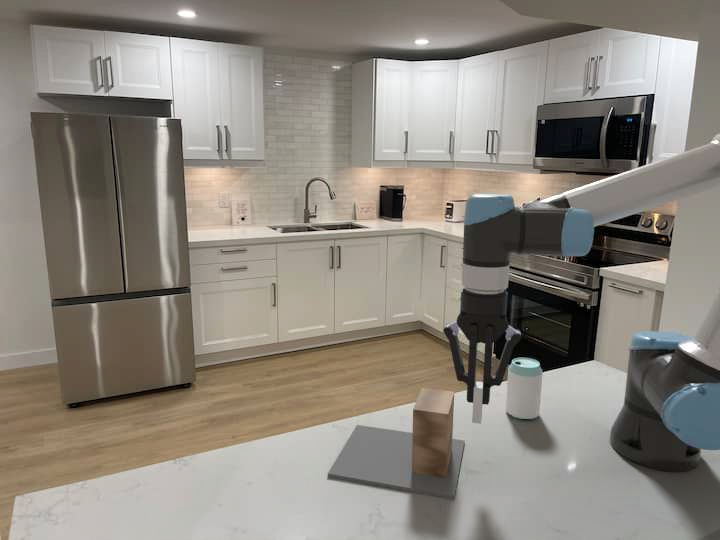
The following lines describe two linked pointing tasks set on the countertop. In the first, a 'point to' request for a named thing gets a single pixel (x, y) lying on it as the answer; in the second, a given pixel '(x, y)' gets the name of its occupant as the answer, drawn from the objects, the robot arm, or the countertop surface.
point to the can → (524, 388)
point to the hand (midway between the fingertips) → (476, 419)
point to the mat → (392, 462)
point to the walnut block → (432, 432)
